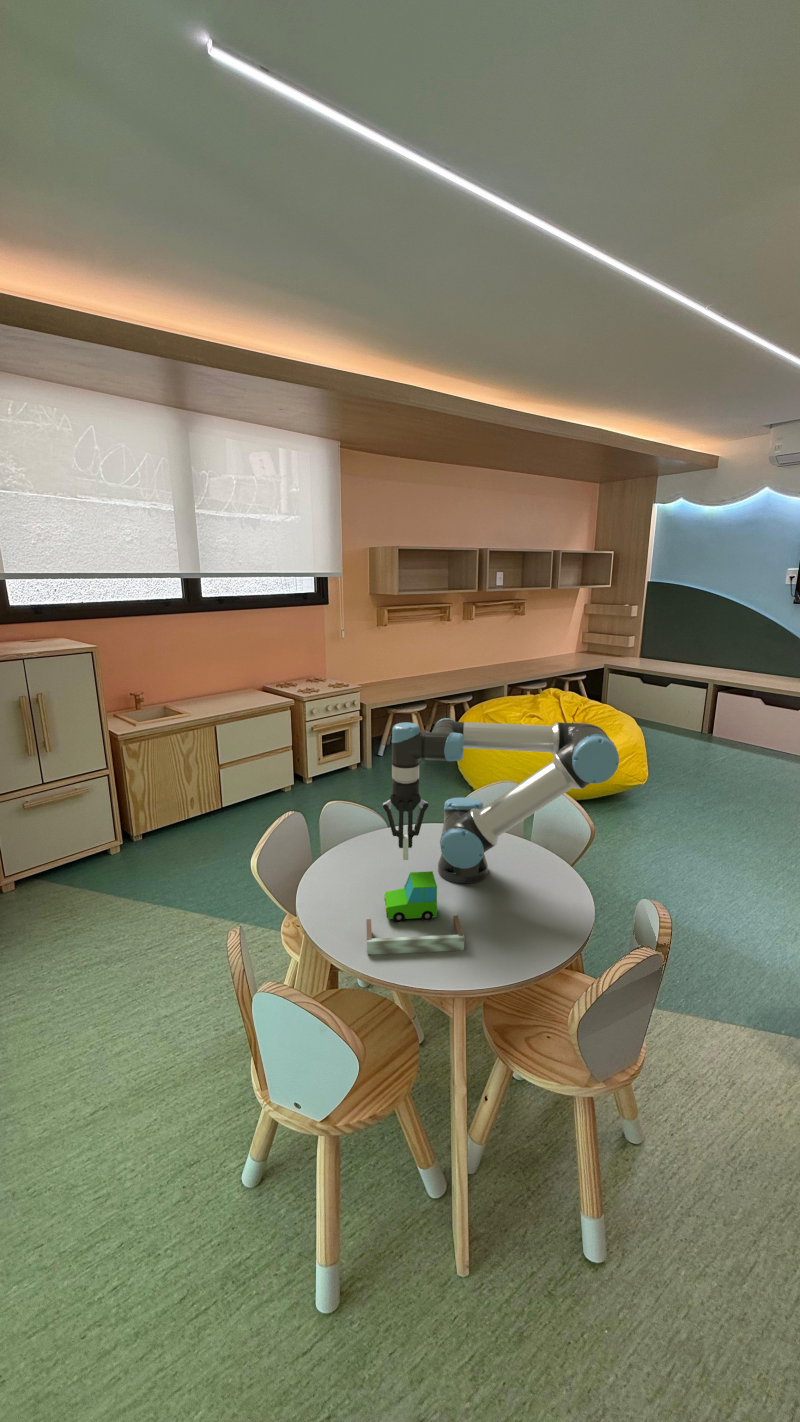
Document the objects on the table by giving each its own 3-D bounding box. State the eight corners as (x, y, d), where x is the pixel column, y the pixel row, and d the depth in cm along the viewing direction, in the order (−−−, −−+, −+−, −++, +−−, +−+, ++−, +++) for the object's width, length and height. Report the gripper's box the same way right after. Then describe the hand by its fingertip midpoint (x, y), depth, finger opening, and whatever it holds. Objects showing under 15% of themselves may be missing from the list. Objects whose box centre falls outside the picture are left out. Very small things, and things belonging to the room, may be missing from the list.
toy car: (384, 905, 167) (383, 871, 165) (431, 902, 169) (432, 869, 166) (386, 926, 157) (386, 891, 155) (437, 923, 159) (437, 888, 156)
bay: (457, 927, 156) (457, 915, 156) (463, 950, 147) (464, 937, 146) (366, 931, 155) (366, 919, 154) (367, 954, 146) (366, 941, 145)
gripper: (427, 774, 171) (426, 851, 176) (381, 774, 170) (381, 852, 176) (430, 783, 164) (429, 863, 169) (382, 784, 163) (382, 864, 168)
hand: (405, 857), depth 172 cm, fingers closed
